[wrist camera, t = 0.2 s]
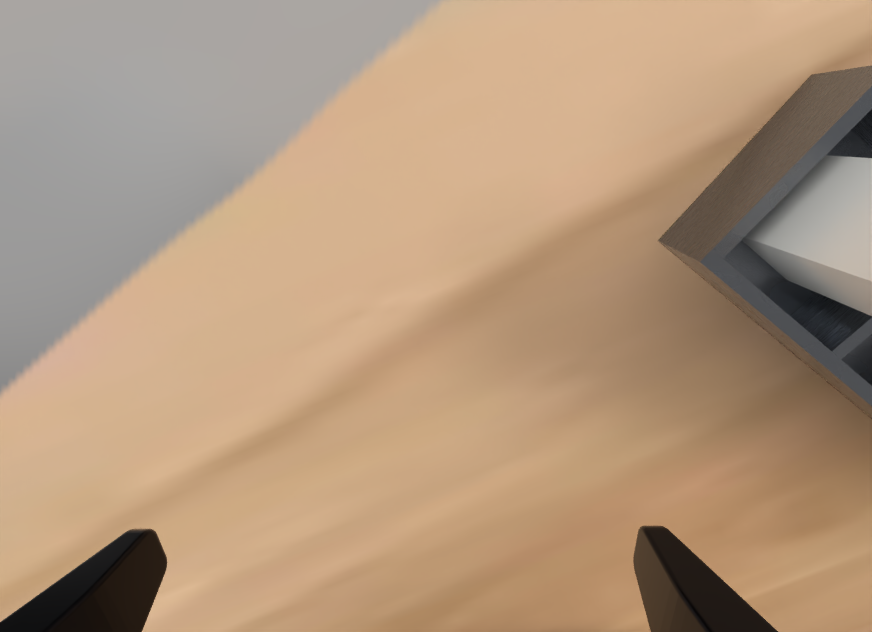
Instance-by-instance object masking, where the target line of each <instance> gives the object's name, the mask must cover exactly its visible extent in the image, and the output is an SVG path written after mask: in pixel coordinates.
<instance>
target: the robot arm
mask: <svg viewBox="0 0 872 632" xmlns="http://www.w3.org/2000/svg"><path fill="white" fill-rule="evenodd" d="M633 562H634V569H635V574H636V577H637V581H638V585H639V589H640V592H641V596H642V600H643V604H644V607H645V611H646V615H647V619H648V623H649V626H650V630H651V632H778V631H777V630H776V629H775V628H773V627H772V626H771V625H770V624H769V623H768V622H767V621H766V620H765V619H764V618H763V617H762V616H761V615H759V614H758V613H757V612H756V611H755V610H754V609H753V608H752V607H751V606H750V605H749V604H748V603H747V602H746V601H744V600H743V599H742V598H741V597H740V596H739V595H738V594H737V593H736V592H735V591H734V590H733V589H732V588H731V587H729V586H728V585H727V584H726V583H725V582H724V581H723V580H722V579H721V578H720V577H719V576H718V575H717V574H715V573H714V572H713V571H712V570H711V569H710V568H709V567H708V566H707V565H706V564H705V563H704V562H703V561H702V560H700V559H699V558H698V557H697V556H696V555H695V554H694V553H693V552H692V551H691V550H690V549H689V548H688V547H686V546H685V545H684V544H683V543H682V542H681V541H680V540H679V539H678V538H677V537H676V536H675V535H674V534H673V533H671V532H670V531H669V530H668V529H667V528H665V527H663V526H642V527H640V529H639V531H638V535H637V541H636V546H635V552H634V561H633ZM166 567H167V557H166V555H165V552H164V550H163V547H162V545H161V543H160V540H159V538H158V536H157V533H156V532H155V531H154V530H152V529H132V530H129V531H127V532H126V533H124V534H123V535H121V536H120V537H118V538H117V539H116V540H114V541H113V542H111V543H110V544H109V545H107V546H106V547H104V548H103V549H102V550H100V551H99V552H97V553H96V554H95V555H93V556H92V557H90V558H89V559H88V560H86V561H85V562H83V563H82V564H81V565H79V566H78V567H77V568H75V569H74V570H72V571H71V572H70V573H68V574H67V575H65V576H64V577H63V578H61V579H60V580H58V581H57V582H56V583H54V584H53V585H51V586H50V587H49V588H47V589H46V590H44V591H43V592H42V593H40V594H39V595H37V596H36V597H35V598H33V599H32V600H31V601H29V602H28V603H26V604H25V605H24V606H22V607H21V608H19V609H18V610H17V611H15V612H14V613H12V614H11V615H10V616H8V617H7V618H5V619H4V620H3V621H1V622H0V632H142V630H143V627H144V625H145V622H146V620H147V617H148V615H149V612H150V610H151V607H152V605H153V602H154V600H155V597H156V594H157V592H158V589H159V587H160V584H161V582H162V579H163V577H164V574H165V571H166Z"/></svg>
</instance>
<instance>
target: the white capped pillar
mask: <svg viewBox="0 0 872 632" xmlns="http://www.w3.org/2000/svg"><path fill="white" fill-rule="evenodd" d="M742 241H743V242H744V243H745V244H747V245H748V246H749V247H750V248H751V249H752V250H753V251H755V252H756V253H757V254H758V255H759V256H760V257H761V258H762V259H764V260H765V261H766V262H767V263H768V264H769V265H770V266H772V267H773V268H774V269H775V270H776V271H777V272H778V273H779V274H781V275H782V276H783V277H784V278H785V279H786V280H788V281H791V282H793V283H795V284H798V285H800V286H802V287H805V288H807V289H809V290H812V291H814V292H816V293H819V294H821V295H823V296H826V297H828V298H830V299H833V300H835V301H837V302H840V303H842V304H844V305H847V306H849V307H851V308H854V309H856V310H858V311H861V312H863V313H865V314H868V315H870V316H872V158H861V157H844V156H828V155H826V156H825V157H824V158H823V159H822V160H821V161H820V162H819V163H818V164H817V165H816V166H815V167H814V168H813V169H812V170H811V171H810V172H809V173H808V174H807V175H806V176H805V177H804V178H803V179H802V180H801V181H800V182H799V183H798V184H797V185H796V186H795V187H794V188H793V189H792V190H791V191H790V192H789V193H788V194H787V195H786V196H785V197H784V198H783V199H782V200H781V201H780V202H779V203H778V204H777V205H776V206H775V207H774V208H773V209H772V210H771V211H770V212H769V213H768V214H767V215H766V216H765V217H764V218H763V219H762V220H761V221H760V222H759V223H758V224H757V225H756V226H755V227H754V228H753V229H752V230H751V231H750V232H749V233H748V234H747V235H746V236H745V237H744V238H743V239H742Z"/></svg>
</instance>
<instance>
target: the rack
mask: <svg viewBox="0 0 872 632" xmlns="http://www.w3.org/2000/svg"><path fill="white" fill-rule="evenodd" d="M826 155H828V156H844V157H861V158H872V66H866V67H859V68H853V69H846V70H840V71H833V72H827V73H820V74H814V75H811V76H810V77H809V78H808V79H807V80H806V81H805V82H804V84H803V85H802V86H801V87H800V88H799V89H798V90H797V91H796V92H795V93H794V94H793V95H792V97H791V98H790V99H789V100H788V101H787V102H786V103H785V104H784V105H783V106H782V107H781V108H780V109H779V111H778V112H777V113H776V114H775V115H774V116H773V117H772V118H771V119H770V120H769V121H768V122H767V124H766V125H765V126H764V127H763V128H762V129H761V130H760V131H759V132H758V133H757V134H756V135H755V137H754V138H753V139H752V140H751V141H750V142H749V143H748V144H747V145H746V146H745V147H744V148H743V149H742V151H741V152H740V153H739V154H738V155H737V156H736V157H735V158H734V159H733V160H732V161H731V162H730V164H729V165H728V166H727V167H726V168H725V169H724V170H723V171H722V172H721V173H720V174H719V175H718V177H717V178H716V179H715V180H714V181H713V182H712V183H711V184H710V185H709V186H708V187H707V188H706V189H705V191H704V192H703V193H702V194H701V195H700V196H699V197H698V198H697V199H696V200H695V201H694V202H693V204H692V205H691V206H690V207H689V208H688V209H687V210H686V211H685V212H684V213H683V214H682V215H681V217H680V218H679V219H678V220H677V221H676V222H675V223H674V224H673V225H672V226H671V227H670V228H669V229H668V231H667V232H666V233H665V234H664V235H663V236H662V237H661V238H660V239H659V240H658V241H659V242H660V243H661V244H662V245H664V246H665V247H666V248H667V249H668V250H670V251H671V252H672V253H673V254H674V255H676V256H677V257H678V258H679V259H680V260H682V261H683V262H684V263H685V264H686V265H688V266H689V267H690V268H691V269H693V270H694V271H695V272H696V273H697V274H699V275H700V276H701V277H702V278H703V279H705V280H706V281H707V282H708V283H709V284H711V285H712V286H713V287H714V288H715V289H717V290H718V291H719V292H720V293H721V294H723V295H724V296H725V297H726V298H727V299H729V300H730V301H731V302H732V303H733V304H735V305H736V306H737V307H738V308H739V309H741V310H742V311H743V312H744V313H745V314H747V315H748V316H749V317H750V318H751V319H753V320H754V321H755V322H756V323H757V324H759V325H760V326H761V327H762V328H763V329H765V330H766V331H767V332H768V333H769V334H771V335H772V336H773V337H774V338H775V339H777V340H778V341H779V342H780V343H781V344H783V345H784V346H785V347H786V348H787V349H789V350H790V351H791V352H792V353H793V354H795V355H796V356H797V357H798V358H799V359H801V360H802V361H803V362H804V363H805V364H807V365H808V366H809V367H810V368H812V369H813V370H814V371H815V372H816V373H818V374H819V375H820V376H821V377H822V378H824V379H825V380H826V381H827V382H828V383H830V384H831V385H832V386H833V387H834V388H836V389H837V390H838V391H839V392H840V393H842V394H843V395H844V396H845V397H846V398H848V399H849V400H850V401H851V402H852V403H854V404H855V405H856V406H857V407H858V408H860V409H861V410H862V411H863V412H864V413H866V414H867V415H868V416H869V417H870V418H872V316H870V315H868V314H865V313H863V312H861V311H858V310H856V309H854V308H851V307H849V306H847V305H844V304H842V303H840V302H837V301H835V300H833V299H830V298H828V297H826V296H823V295H821V294H819V293H816V292H814V291H812V290H809V289H807V288H805V287H802V286H800V285H798V284H795V283H793V282H791V281H788V280H786V279H785V278H784V277H783V276H782V275H781V274H779V273H778V272H777V271H776V270H775V269H774V268H773V267H772V266H770V265H769V264H768V263H767V262H766V261H765V260H764V259H762V258H761V257H760V256H759V255H758V254H757V253H756V252H755V251H753V250H752V249H751V248H750V247H749V246H748V245H747V244H745V243H744V242H743V241H742V239H743V238H744V237H745V236H746V235H747V234H748V233H749V232H750V231H751V230H752V229H753V228H754V227H755V226H756V225H757V224H758V223H759V222H760V221H761V220H762V219H763V218H764V217H765V216H766V215H767V214H768V213H769V212H770V211H771V210H772V209H773V208H774V207H775V206H776V205H777V204H778V203H779V202H780V201H781V200H782V199H783V198H784V197H785V196H786V195H787V194H788V193H789V192H790V191H791V190H792V189H793V188H794V187H795V186H796V185H797V184H798V183H799V182H800V181H801V180H802V179H803V178H804V177H805V176H806V175H807V174H808V173H809V172H810V171H811V170H812V169H813V168H814V167H815V166H816V165H817V164H818V163H819V162H820V161H821V160H822V159H823V158H824V157H825V156H826Z"/></svg>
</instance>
